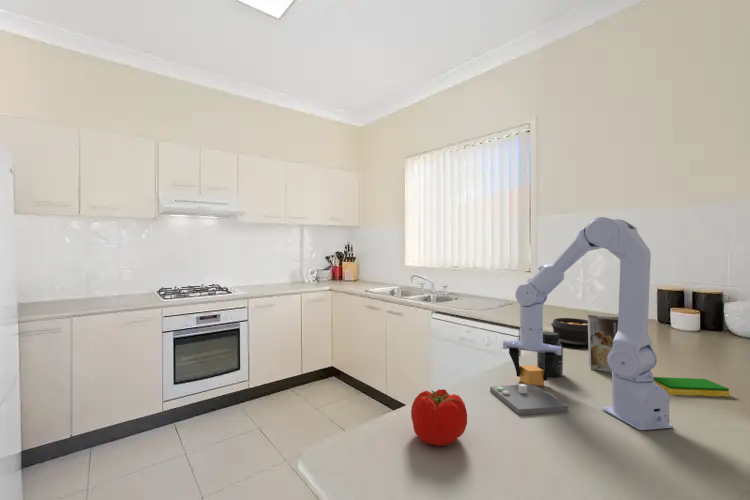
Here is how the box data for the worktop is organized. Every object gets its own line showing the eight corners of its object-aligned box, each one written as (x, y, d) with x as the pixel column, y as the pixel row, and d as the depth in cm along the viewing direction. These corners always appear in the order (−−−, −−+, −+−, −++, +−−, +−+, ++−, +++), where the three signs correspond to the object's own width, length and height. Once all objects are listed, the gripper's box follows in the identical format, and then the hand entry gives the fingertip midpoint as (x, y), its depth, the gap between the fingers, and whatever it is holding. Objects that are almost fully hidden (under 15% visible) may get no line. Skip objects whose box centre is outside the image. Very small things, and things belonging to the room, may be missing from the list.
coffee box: (622, 368, 104) (622, 316, 105) (626, 374, 99) (626, 320, 99) (587, 363, 109) (587, 314, 109) (589, 369, 103) (589, 317, 103)
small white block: (527, 393, 82) (526, 385, 82) (521, 393, 82) (520, 386, 82) (524, 391, 83) (524, 383, 83) (518, 391, 83) (518, 384, 83)
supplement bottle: (566, 378, 96) (566, 336, 96) (540, 376, 97) (540, 335, 97) (558, 370, 102) (558, 331, 102) (534, 368, 104) (534, 330, 104)
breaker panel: (568, 411, 76) (568, 403, 76) (519, 414, 74) (519, 407, 74) (532, 388, 88) (532, 381, 88) (490, 391, 87) (490, 384, 87)
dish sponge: (730, 398, 83) (730, 388, 83) (670, 396, 85) (670, 386, 85) (705, 387, 90) (705, 378, 91) (650, 385, 92) (650, 376, 92)
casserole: (591, 352, 121) (591, 329, 121) (538, 342, 135) (538, 321, 135) (609, 340, 138) (609, 320, 138) (560, 333, 152) (560, 314, 152)
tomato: (476, 437, 65) (476, 392, 65) (447, 463, 57) (447, 412, 57) (429, 419, 72) (429, 378, 72) (398, 440, 64) (398, 394, 64)
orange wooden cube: (544, 385, 90) (543, 370, 90) (529, 386, 90) (528, 371, 90) (533, 379, 95) (533, 365, 95) (519, 380, 94) (519, 365, 94)
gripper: (501, 328, 92) (502, 377, 92) (562, 333, 86) (562, 387, 85) (504, 323, 98) (504, 370, 98) (560, 328, 92) (560, 378, 92)
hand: (531, 377), depth 92 cm, fingers closed on orange wooden cube, 6 cm apart
